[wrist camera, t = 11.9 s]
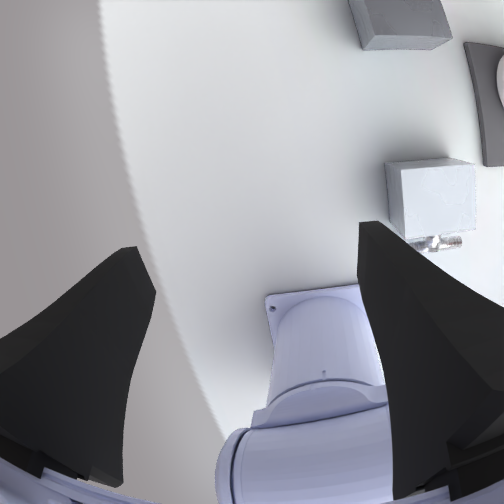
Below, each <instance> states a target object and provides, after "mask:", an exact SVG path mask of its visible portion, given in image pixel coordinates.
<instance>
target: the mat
mask: <svg viewBox="0 0 504 504" xmlns="http://www.w3.org/2000/svg"><path fill="white" fill-rule="evenodd" d="M464 47H465V51H466V55H467V59H468V63H469V67H470V71H471V76H472V81H473V86H474V91H475V96H476V102H477V108H478V115H479V122H480V130H481V139H482V150H483V164H484V166H486V167H497V166H504V107H503V105H502V102H501V100H500V97H499V93H498V87H497V68H498V64H499V61H500V59H501V58H502V57H503V55H504V48H502V47H497V46H491V45H485V44H478V43H471V42H466V43H464Z"/></svg>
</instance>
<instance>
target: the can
mask: <svg viewBox="0 0 504 504" xmlns="http://www.w3.org/2000/svg"><path fill="white" fill-rule="evenodd" d="M497 87H498V93H499V97H500V100H501V102H502V105H503V107H504V55H503V57H502V58H501V59H500V61H499V64H498V68H497Z"/></svg>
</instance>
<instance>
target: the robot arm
mask: <svg viewBox="0 0 504 504" xmlns="http://www.w3.org/2000/svg"><path fill="white" fill-rule="evenodd" d="M357 278H358V283H359V284H356V285H348V286H341V287H334V288H326V289H318V290H310V291H302V292H293V293H284V294H276V295H269V296H267V297H266V299H265V307H266V312H267V317H268V321H269V326H270V331H271V336H272V340H273V345H274V350H275V352H274V359H273V366H272V372H271V379H270V385H269V392H268V398H267V404H266V408H264V409H261V410H256V411H254V413H253V418H252V423H251V427H250V428H240V429H237V430H235V431H234V432H233V433H232V434H231V435H230V436H229V437H228V439H227V440H226V442H225V444H224V446H223V447H222V449H221V451H220V454H219V456H218V460H217V464H216V469H215V489H216V495H217V500H218V503H219V504H504V308H503V307H502V306H500V305H498V304H496V303H494V302H493V301H491V300H489V299H487V298H485V297H483V296H482V295H480V294H478V293H477V292H475V291H473V290H472V289H470V288H469V287H467V286H465V285H464V284H462V283H461V282H459V281H458V280H456V279H455V278H453V277H452V276H450V275H449V274H447V273H446V272H444V271H443V270H442V269H440V268H439V267H438V266H436V265H435V264H433V263H432V262H431V261H429V260H428V259H427V258H425V257H424V256H423V255H421V254H420V253H419V252H418V251H416V250H415V249H414V248H413V247H411V246H410V245H409V244H407V243H406V242H405V241H404V240H402V239H401V238H400V237H399V236H398V235H396V234H395V233H394V232H392V231H391V230H390V229H389V228H387V227H386V226H385V225H383V224H382V223H381V222H379V221H369V222H359V244H358V264H357ZM155 295H156V290H155V288H154V286H153V284H152V281H151V279H150V277H149V275H148V272H147V270H146V268H145V265H144V263H143V261H142V258H141V256H140V254H139V251H138V249H137V246H135V247H126V248H121V249H120V250H118V251H116V252H115V253H113V254H112V255H111V256H109V257H108V258H107V259H105V260H104V261H103V262H102V263H100V264H99V265H98V266H97V267H96V268H94V269H93V270H92V271H91V272H90V273H88V274H87V275H86V276H85V277H84V278H82V279H81V280H80V281H79V282H78V283H77V284H75V285H74V286H73V287H72V288H71V289H69V290H68V291H67V292H66V293H65V294H63V295H62V296H61V297H60V298H58V299H57V300H56V301H55V302H54V303H52V304H51V305H50V306H48V307H47V308H46V309H45V310H43V311H42V312H40V313H39V314H38V315H37V316H35V317H34V318H32V319H31V320H29V321H28V322H27V323H25V324H23V325H22V326H20V327H18V328H17V329H15V330H14V331H12V332H11V333H9V334H8V335H6V336H4V337H2V338H1V339H0V504H82V503H83V504H160V503H155V502H151V501H146V500H142V499H137V498H133V497H129V496H125V495H122V494H118V493H115V492H111V491H108V490H104V489H101V488H98V487H95V486H92V485H89V484H86V483H83V482H81V481H78V480H77V478H80V479H83V480H86V481H88V480H92V481H95V482H98V483H101V484H104V485H108V486H111V487H114V488H116V487H119V486H120V485H122V484H123V464H122V463H123V459H122V450H123V430H124V420H125V411H126V404H127V398H128V392H129V386H130V381H131V377H132V373H133V370H134V367H135V364H136V360H137V358H138V355H139V351H140V349H141V346H142V343H143V340H144V337H145V334H146V331H147V328H148V325H149V322H150V319H151V315H152V311H153V306H154V301H155ZM271 306H274V307H276V309H271V308H270V307H271ZM374 339H375V342H376V346H377V349H378V352H379V355H380V359H381V363H382V367H383V371H384V377H385V383H386V384H384V380H383V376H382V372H381V368H380V364H379V360H378V356H377V352H376V348H375V344H374ZM80 502H81V503H80Z"/></svg>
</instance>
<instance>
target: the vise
mask: <svg viewBox="0 0 504 504" xmlns="http://www.w3.org/2000/svg"><path fill="white" fill-rule="evenodd" d="M348 2H349V5H350V8H351V11H352V14H353V17H354V21H355V24H356V27H357V31H358V34H359V38H360V41H361V45H362V49H363V50H388V49H416V50H432V49H434V48H436V47H437V46H439V45H441V44H443V43H445V42H447V41H449V40H450V39H452V38H453V37H452V34H451V31H450V27H449V24H448V21H447V18H446V15H445V12H444V9H443V7H442V4H441V1H440V0H348ZM384 164H385V172H386V181H387V191H388V202H389V215H390V223H391V224H392V225H393V226H394V227H395V228H396V229H397V231H398V232H399V233H400V234H401V235H402V236H403V237H404V239H412V238H420V237H423V239H424V241H419V242H412V243H407V244H409V245H410V246H411V247H413V248H414V249H415V250H416V251H418V252H419V253H420V254H422V253H429V252H437V251H442V250H448V249H454V248H460V247H461V246H462V240H461V237H460V236H453V237H446V238H441V234H448V233H455V232H462V231H469V230H475V229H476V180H475V164H472V163H468V162H465V161H461V160H457V159H453V158H439V159H425V160H413V161H402V162H391V163H384Z"/></svg>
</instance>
